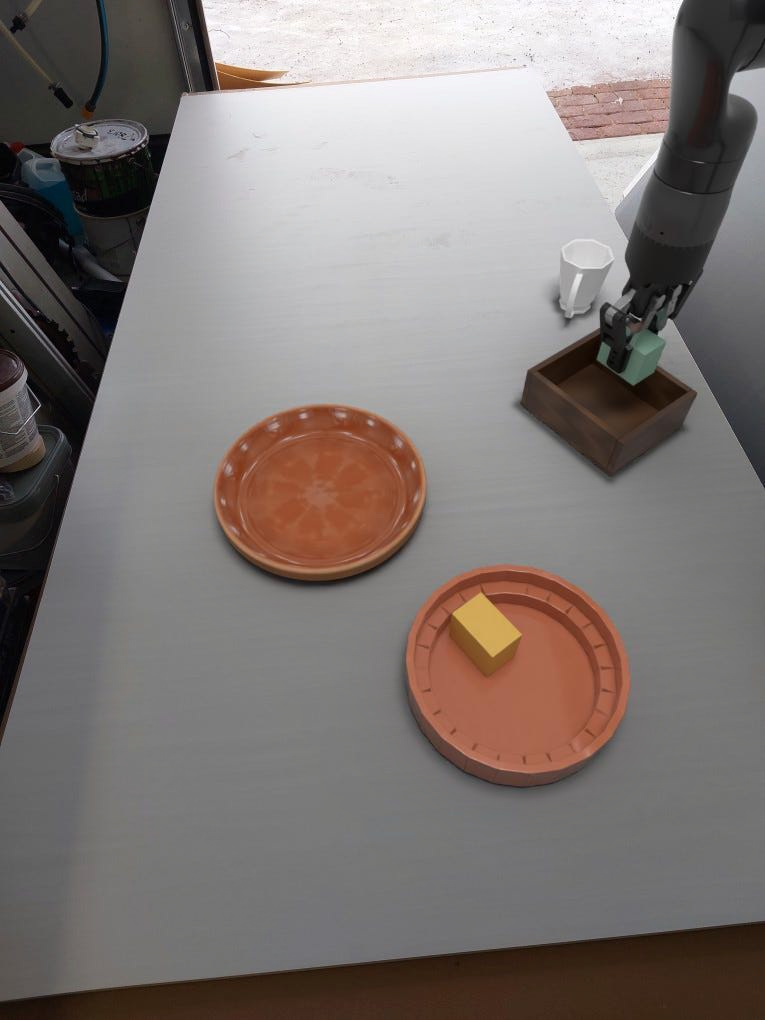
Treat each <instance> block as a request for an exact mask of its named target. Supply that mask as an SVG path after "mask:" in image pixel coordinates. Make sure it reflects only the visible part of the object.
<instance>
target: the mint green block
mask: <svg viewBox="0 0 765 1020" xmlns="http://www.w3.org/2000/svg"><path fill="white" fill-rule="evenodd" d="M630 333H631V329H630V328H628V327H627V326H626V335H627V336H629V335H630ZM666 344H667V340H665V339H663V338H662V337H660V336H659V335H656V334H654V333H652V332H651V331H649V330H648V329H647V330H645V331H643V332H641V333H640V335H639V337H638V339H637V341H636V343H635V345H634V346H633V350H632V353H631V355H630V358H629V361H628V364H627V367H626V369H625V371H624V372H622V373H620V374H618V373H616V372H615V371H613V370H612V369H611V368H609V367H608V366H607V365H606V361H607V358H608V355H609V352H610V349H611V347H609V346H608V345H606V344H605V343H604V342H602V344H601V347H600V351H599V354H598V357H597V360H598V361H599V362H600V363H602V364H603V365H605V366H606V367H607V368H609V369H610V370H612V371H613V372H614V373H616V374H617V375H619V376H620V377H622V378H623V379H624V380H626V381H627V382H629V383H630V384H631V385H633V386H634V385H635V384H637V383H638V382H640V381H641V380H643V379H644V378H646V377H648V376H649V375H651V374H652V373H654V371H655V369H656V366H657V365H659V362H660V359H661V356H662V354H663V351H664V349H665V347H666Z"/></svg>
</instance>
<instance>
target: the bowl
mask: <svg viewBox="0 0 765 1020" xmlns="http://www.w3.org/2000/svg"><path fill="white" fill-rule="evenodd" d="M479 593H482V594H483V595H484V596H485V597H486V598H487V599H488V600H489V601H490V602H491V603H492V604H493V605H494V606H495V607H496V608H497V609H498V610H499V611H500V612H501V613H502V614H503V615H504V616H505V618H506V619H507V620H508V621H509V622H510V623H511V624H512V625H513V626H514V627H515V628H516V629H517V630H518V631H519V632H520V633H521V634H522V637H521V640H520V643H519V646H518V649H517V652H516V655H515V656H514V657H513V658H512V659H510V660H509V661H508V662H507V663H505V664H504V665H503V666H502V667H500V668H499V669H498V670H496V671H495V672H494V673H493V674H491V675H490V676H489V677H486V676H485V675H484V674H483V672H482V671H481V670H480V669H479V668H478V667H477V666H476V665H475V664H474V662H473V661H472V660H471V659H470V658H469V657H468V656H467V655H466V654H465V652H464V651H463V650H462V649H461V648H460V647H459V646H458V645H457V643H456V642H455V641H454V640H453V639H452V638H451V637H450V636H449V630H450V623H451V616H452V613H453V612H454V611H456V610H457V609H458V608H460V607H461V606H463V605H464V604H465V603H467V602H468V601H469V600H471V599H472V598H474V597H475V596H476V595H478V594H479ZM404 665H405V667H404V668H405V671H404V672H405V673H404V678H405V685H406V691H407V698H408V703H409V706H410V709H411V711H412V714H413V715H414V717H415V720H416V723H417V725H418V727H419V729H420V730H421V732H422V733H423V734H424V735H425V737H426V738H427V739H428V740H429V742H430V743H431V744H432V745H433V746H434V748H435V749H436V750H437V752H439V754H440V755H442V756H443V757H444V758H446V759H447V760H449V761H450V762H451V763H453V764H454V765H455V766H457V767H458V768H459V769H461V771H464V772H465V773H468V774H470V775H473V776H474V777H475V776H476V777H477V778H480V779H482V780H485V781H488V782H489V783H493V784H497V785H498V784H499V785H506V786H513V787H519V788H521V787H522V788H525V787H532V786H539V785H548V784H552V783H556V782H558V781H560V780H562V779H565V778H566V777H569V776H571V775H573V774H575V773H577V772H578V773H579V771H581V769H583V768H584V767H585V766H586V765H587V764H588V763H590V762H591V761H592V760H593V759H594V758H595V757H596V756H597V755H598V754H599V753H601V751H602V750H603V748H604V747H605V746H606V745H607V743H608V742H609V741H610V739H611V738H612V737H613V735H614V733H615V732H616V730H617V728H618V727H619V724H620V723H621V721H622V720H623V718H624V716H625V714H626V711H627V705H628V701H629V697H630V691H631V674H630V660H629V657H628V654H627V651H626V648H625V645H624V643H623V640H622V638H621V634H620V632H619V630H618V629H617V628H616V626H615V624H614V623H613V621H612V620H611V619H610V617H609V615H608V614H607V613H606V611H605V610H604V609H603V608H602V607H601V606H600V605H599V604H598V603H597V601H595V600H594V599H593V598H592V597H591V596H590V595H589V594H588V593H586V592H585V591H584V590H583V589H581V588H580V587H578V586H577V585H575V584H573V583H571V582H569V581H568V580H567V579H565V578H563V577H561V576H559V575H557V574H555V573H551V572H548V571H546V570H542V569H540V568H536V567H532V566H524V565H515V564H508V563H507V564H506V563H504V564H495V565H488V566H486V565H485V566H480V567H476V568H474V569H472V570H469V571H466V572H464V573H463V572H462V573H460V574H458V575H455V576H454V577H452V578H451V579H449V580H448V581H447V582H445V583H444V584H442V585H441V586H439V587H438V588H436V589H435V590H434V591H433V592H432V593H431V595H430V596H429V597H428V598H427V599H426V601H425V602H424V603H423V604H422V605H421V607H420V608H419V610H418V612H417V613H416V616H415V617H414V620H413V623H412V625H411V627H410V630H409V632H408V637H407V646H406V653H405V664H404Z"/></svg>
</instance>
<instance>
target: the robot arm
mask: <svg viewBox="0 0 765 1020" xmlns="http://www.w3.org/2000/svg"><path fill="white" fill-rule="evenodd" d="M673 26H674V27H673V31H672V40H671V65H670V66H671V67H670V84H669V102H668V103H669V104H668V118H667V119H668V120H667V125H666V128H665V131H664V134H663V137H662V140H661V142H660V146H659V149H658V153H657V156H656V160H655V163H654V167H653V169H652V172H651V174H650V176H649V178H648V181H647V183H646V185H645V187H644V190H643V192H642V196H641V199H640V202H639V205H638V206H639V207H638V209H637V211H636V215H635V218H634V222H633V225H632V229H631V232H630V235H629V239H628V242H627V245H626V249H625V251H624V262H625V264H626V267H627V270H628V273H629V277H628V280H627V282H626V283H625V285H624V286H623V288H622V290H621V297H620V298H619V299H618V300H617V301H615V303H613V305H612V304H611V303H609V302H607V301H605V302H604V303H603V304H602V305H601V307H600V308H599V328H600V340H601V341H602V342H604V343H605V344H606V345H608V346H609V347H611V349H610V352H609V355H608V358H607V361H606V365H607V366H608V367H609V368H611V369H612V370H613V371H615V372H616V373H618V374H620V373H622V372H624V371H625V369H626V367H627V364H628V361H629V358H630V355H631V353H632V350H633V346H634V345H635V343H636V341H637V339H638V337H639V335H640V333H641V332H643V331H645V330H647V329H648V330H649V331H651V332H652V333H654V334H656V335H657V336H659V332H661V331H663V330H664V329H665V327H667V323H668V320H669V319H670V320H671V321H673V320H675V319H676V318H677V317H678V315H679V313H680V312H681V310H682V309H683V307H684V305H685V303H686V302H687V301H688V299H689V297H690V295H691V293H692V292H693V290H694V289H695V286H696V285H697V284H698V282H699V280H700V278H701V277H702V275H703V274H704V267H705V265H706V262H707V259H708V257H709V255H710V254H711V253H710V252H711V250H712V247H713V245H714V243H715V240H716V238H717V235H718V233H719V231H720V228H721V225H722V224H723V221H724V219H725V216H726V214H727V211H728V208H729V206H730V203H731V200H732V199H731V198H732V195H733V190H734V187H735V184H736V181H737V179H738V176H739V174H740V172H741V170H742V167H743V165H744V162H745V160H746V157H747V154H748V152H749V150H750V147H751V145H752V143H753V140H754V137H755V135H756V131H757V127H758V122H759V117H758V111H757V109H756V107H755V105H754V104H752V102H750V101H749V100H748V99H746V98H745V97H742V96H741V95H738V94H734V93H731V92H730V87H731V84H732V81H733V78H734V77H735V74H738V73H743V72H748V71H754V70H759V69H765V0H682V2H681V4H680V6H679V9H678V11H677V14H676V17H675V21H674V25H673ZM626 326H627V327H628V328H630V329H631V333H630V335H629V336H627V335H626Z"/></svg>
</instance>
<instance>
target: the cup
mask: <svg viewBox="0 0 765 1020" xmlns="http://www.w3.org/2000/svg"><path fill="white" fill-rule="evenodd" d="M559 260H560V261H559V263H560V264H559V276H558V277H559V279H558V281H559V295H560V297H559V300H558V302H559V306H560V309H561V310H563V311H564V318H567V319H572V318H573V317H574V315H582V314H585V313H586V312H587V311H588V310H590V309H591V308H592V307H591V306H592V305H591V303H592V302H594V300H595V299H596V297H597V295H598V294H599V292H600V290H601V289H602V287H603V285H604V283H605V280H606V279H607V276H608V274H609V272H610V270H611V269H612V267H613V264H614V262H615V257H614V254H613V250H612V248H611V247H610V246H608V245H606V244H604V243H602V242H600V241H598V240H597V239H593V238H587V239H586V238H585V239H579V238H578V239H571V240H570V241H569V242H568V243H566V244H565V245H563V246H562V247H560V259H559Z"/></svg>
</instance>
